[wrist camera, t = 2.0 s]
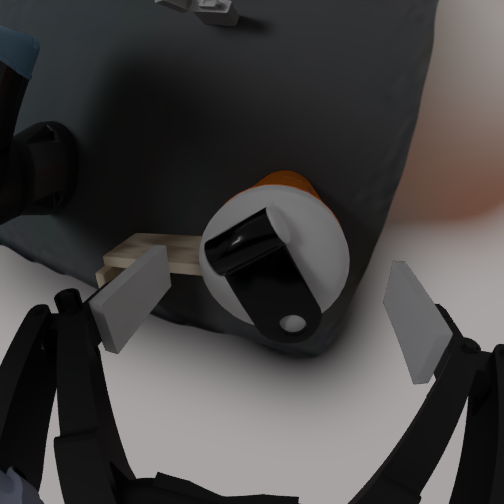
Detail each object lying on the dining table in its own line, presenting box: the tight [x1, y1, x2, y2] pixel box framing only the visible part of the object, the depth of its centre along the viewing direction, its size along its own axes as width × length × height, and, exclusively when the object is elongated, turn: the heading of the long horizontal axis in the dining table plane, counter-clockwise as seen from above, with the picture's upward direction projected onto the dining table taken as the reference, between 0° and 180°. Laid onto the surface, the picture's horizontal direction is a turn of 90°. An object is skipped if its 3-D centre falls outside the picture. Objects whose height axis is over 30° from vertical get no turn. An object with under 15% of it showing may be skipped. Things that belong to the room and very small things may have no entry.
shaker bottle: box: [199, 170, 350, 344], centre depth 23 cm, size 9×9×20 cm
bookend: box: [95, 233, 202, 288], centre depth 33 cm, size 14×10×10 cm
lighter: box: [155, 0, 239, 26], centre depth 20 cm, size 7×2×8 cm, turn 76°
